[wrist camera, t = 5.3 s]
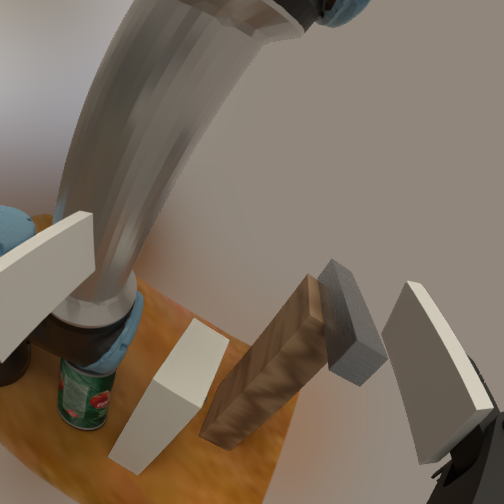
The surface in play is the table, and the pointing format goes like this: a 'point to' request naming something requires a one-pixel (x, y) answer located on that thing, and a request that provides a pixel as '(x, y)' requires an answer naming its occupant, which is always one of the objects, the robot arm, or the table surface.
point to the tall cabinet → (270, 369)
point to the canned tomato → (83, 395)
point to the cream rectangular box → (171, 397)
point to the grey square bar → (348, 327)
